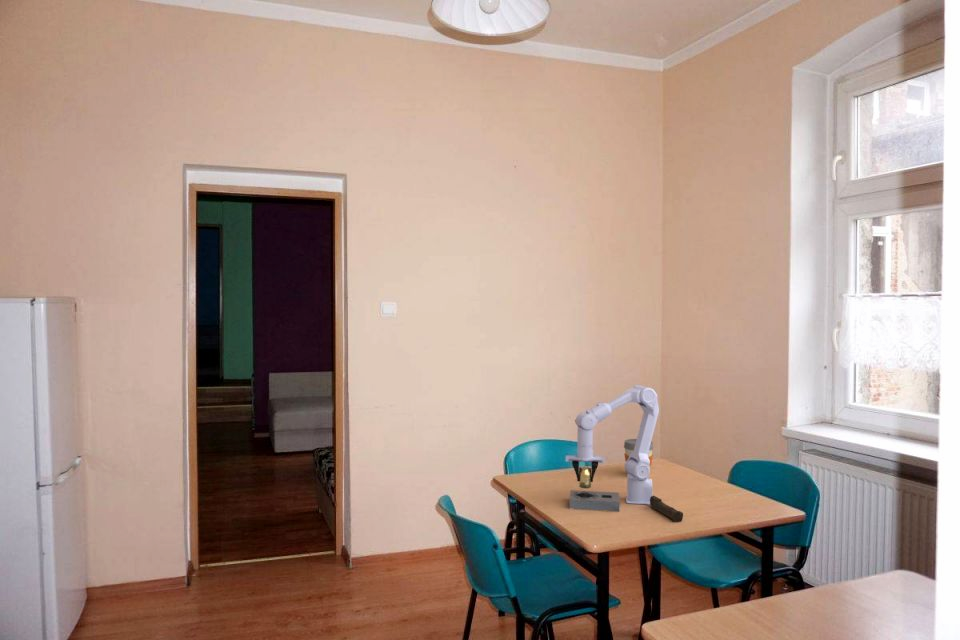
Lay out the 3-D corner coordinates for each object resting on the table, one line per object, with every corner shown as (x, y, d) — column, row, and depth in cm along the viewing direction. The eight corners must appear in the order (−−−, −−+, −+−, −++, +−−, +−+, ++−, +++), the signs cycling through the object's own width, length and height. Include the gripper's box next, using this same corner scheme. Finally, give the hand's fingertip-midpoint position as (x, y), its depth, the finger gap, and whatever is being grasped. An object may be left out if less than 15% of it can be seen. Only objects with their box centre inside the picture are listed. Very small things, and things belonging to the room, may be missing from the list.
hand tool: (683, 522, 222) (683, 509, 222) (673, 523, 221) (673, 509, 221) (657, 506, 240) (657, 493, 240) (647, 506, 239) (647, 494, 239)
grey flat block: (618, 501, 245) (618, 492, 245) (619, 511, 233) (619, 501, 233) (570, 499, 248) (570, 490, 248) (569, 508, 236) (569, 499, 236)
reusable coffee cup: (647, 471, 290) (647, 438, 290) (657, 478, 278) (657, 444, 277) (620, 472, 289) (620, 438, 289) (628, 479, 277) (628, 444, 276)
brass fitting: (590, 485, 243) (590, 466, 243) (591, 488, 238) (591, 469, 238) (578, 484, 243) (579, 466, 243) (579, 488, 239) (579, 469, 239)
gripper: (565, 446, 238) (565, 483, 238) (605, 448, 236) (604, 484, 236) (566, 442, 245) (566, 478, 245) (604, 444, 242) (604, 479, 243)
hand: (585, 481), depth 241 cm, fingers closed on brass fitting, 4 cm apart
